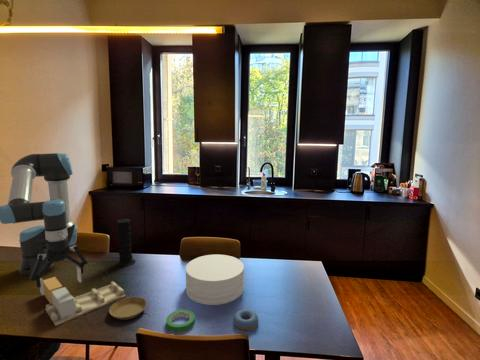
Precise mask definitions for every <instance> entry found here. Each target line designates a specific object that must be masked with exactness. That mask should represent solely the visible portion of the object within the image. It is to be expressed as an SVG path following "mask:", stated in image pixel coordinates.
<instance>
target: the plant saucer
mask: <svg viewBox="0 0 480 360" xmlns="http://www.w3.org/2000/svg"><path fill="white" fill-rule="evenodd" d="M147 305H148V303H147V300H146V299H145V298H143V297H139V296H131V297H125V298H122V299H120V300H117V301H115V302H113V304H112V305H110V307H109V310H108V311H109V312H108V313H109V315H110V316H112V317H113V318H115V319H117V320H120V321H121V320H123V321H126V320H131V319H133V318H136V317H138V316H139V315H141V313H143V311H145V309H146V307H147Z"/></svg>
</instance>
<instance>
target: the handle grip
mask: <svg viewBox="0 0 480 360" xmlns="http://www.w3.org/2000/svg"><path fill="white" fill-rule="evenodd" d="M116 223H117V235H118V236H117V237H118V239H117V240H118V253H119V255H118V257H119V261H117V263H116V266H117V265H118V267H120V266H122V267H124V266H126V267H129V265H130V266H133V265H134V264H135V263H136V260H135V259H134V258H133V251H132V234H131V230H132V229H131V219H128V218H123V219H119V220H117V221H116ZM124 268H125V267H124Z"/></svg>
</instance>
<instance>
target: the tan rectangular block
mask: <svg viewBox="0 0 480 360" xmlns="http://www.w3.org/2000/svg"><path fill="white" fill-rule="evenodd" d="M43 287H44V295H43V296H44V297H45V298H46V300H47V301H48V302H49V303H48V304H50V306H52V305H53V300H52V291H55V290H58V289H61V288H64V287H63V285H62V284H61V282H60V281H59V280H58V279H57V277H56V276H53V277H49V278H47V279H43Z"/></svg>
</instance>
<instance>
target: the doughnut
mask: <svg viewBox="0 0 480 360" xmlns="http://www.w3.org/2000/svg"><path fill="white" fill-rule="evenodd" d="M258 324H259V316H258V315H257V313H256V312H255V311H254V310H251V309H248V308H247V309H245V308H244V309H240V310H237V311H236V312H235V313H234V315H233V325H234V326H235V327H236V328H237V329H239V330H241V331H252V330H254V329H255V328H256V327H257V326H258Z"/></svg>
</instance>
